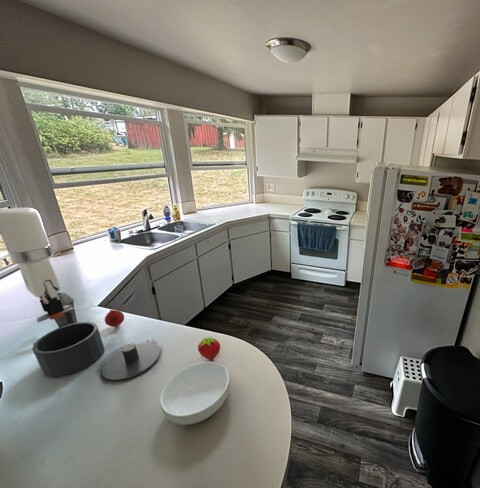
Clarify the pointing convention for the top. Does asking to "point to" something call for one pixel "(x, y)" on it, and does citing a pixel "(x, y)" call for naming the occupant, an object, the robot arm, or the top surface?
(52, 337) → the processor bowl
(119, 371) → the lid
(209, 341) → the strawberry
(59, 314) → the blade
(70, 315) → the beverage cup
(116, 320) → the onion
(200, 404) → the cereal bowl
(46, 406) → the top surface
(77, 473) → the top surface
